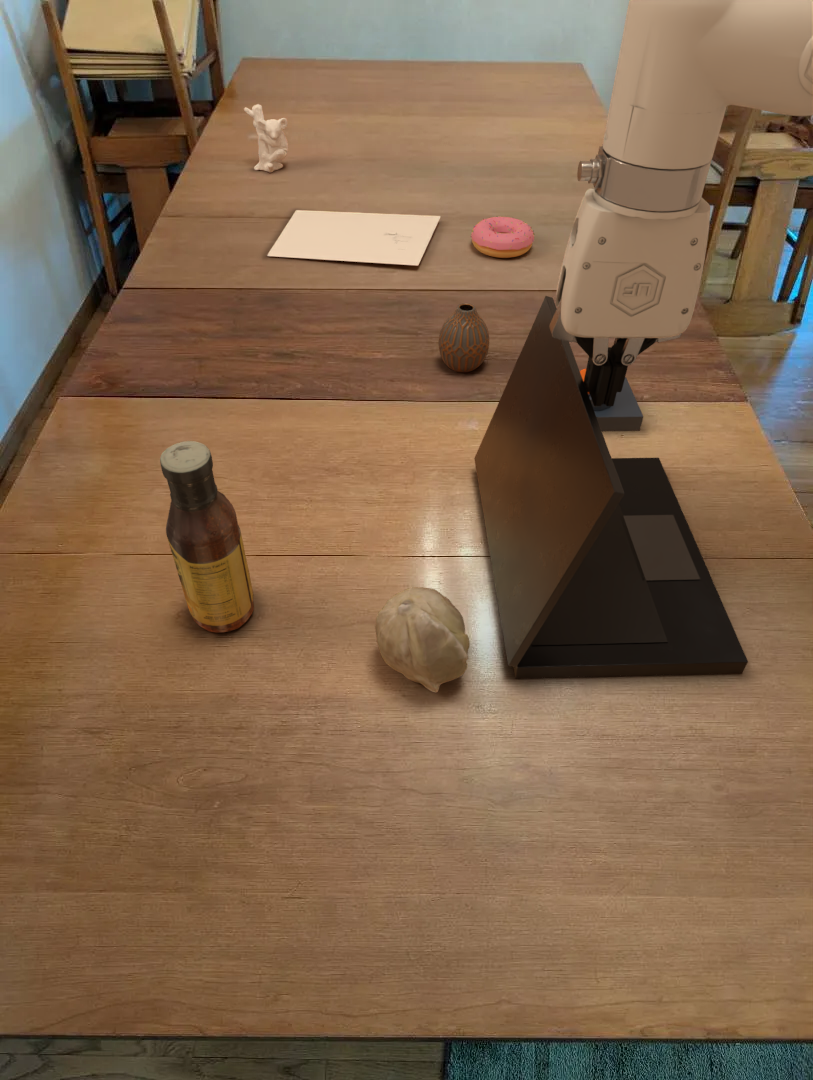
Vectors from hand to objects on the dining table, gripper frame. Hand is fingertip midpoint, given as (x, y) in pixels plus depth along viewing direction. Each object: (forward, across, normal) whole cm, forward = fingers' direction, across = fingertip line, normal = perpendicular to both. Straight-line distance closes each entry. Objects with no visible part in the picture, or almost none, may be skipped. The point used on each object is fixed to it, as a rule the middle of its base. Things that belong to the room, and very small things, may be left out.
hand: (600, 397), depth 69 cm
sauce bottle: (+21, -34, -6) cm, 41 cm away
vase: (+21, -7, +39) cm, 44 cm away
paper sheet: (+21, -22, +81) cm, 87 cm away
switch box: (+20, +8, +27) cm, 35 cm away
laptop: (+20, +4, 0) cm, 21 cm away
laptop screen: (+8, -4, 0) cm, 10 cm away
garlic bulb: (+21, -16, -13) cm, 29 cm away
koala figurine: (+21, -40, +116) cm, 125 cm away
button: (+17, +8, +27) cm, 33 cm away
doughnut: (+20, +3, +77) cm, 80 cm away
